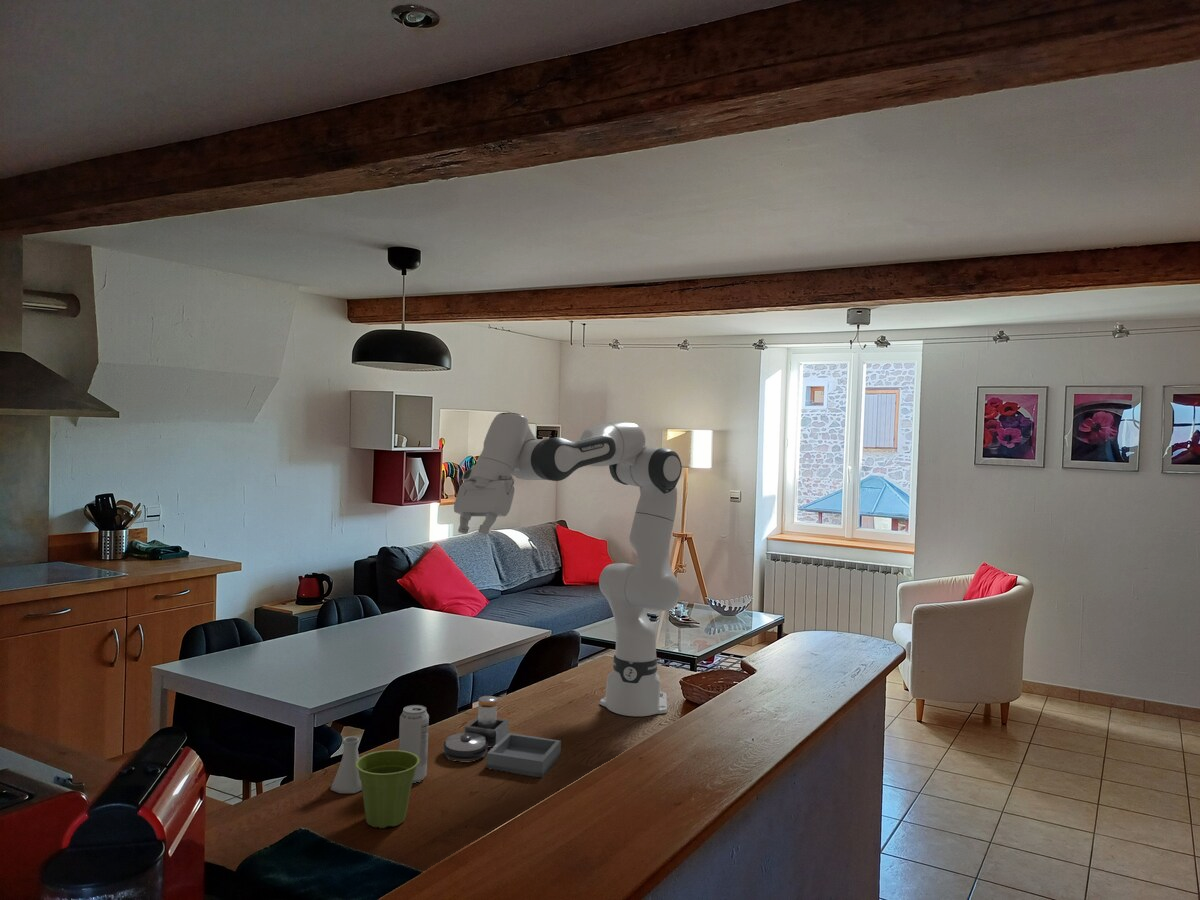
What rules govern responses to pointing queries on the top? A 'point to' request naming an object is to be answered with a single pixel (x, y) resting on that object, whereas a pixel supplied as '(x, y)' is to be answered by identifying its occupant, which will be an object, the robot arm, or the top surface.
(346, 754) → the flask
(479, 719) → the glass shaker
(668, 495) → the robot arm
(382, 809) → the plant pot
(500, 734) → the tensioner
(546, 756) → the tray
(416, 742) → the energy drink can
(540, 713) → the top surface
